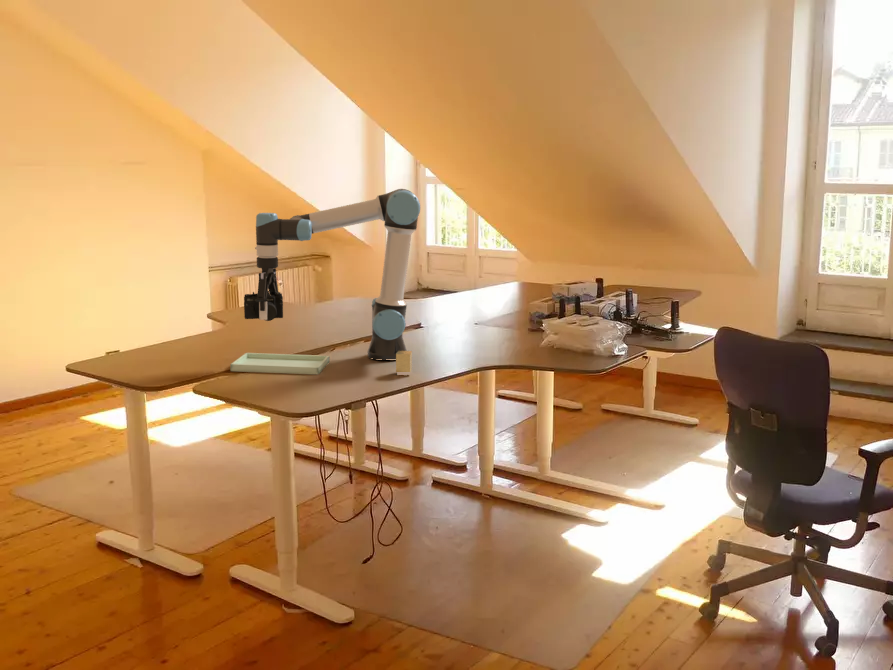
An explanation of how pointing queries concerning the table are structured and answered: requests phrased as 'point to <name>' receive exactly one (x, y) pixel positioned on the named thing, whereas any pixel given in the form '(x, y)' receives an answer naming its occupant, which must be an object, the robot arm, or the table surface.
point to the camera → (272, 306)
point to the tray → (280, 363)
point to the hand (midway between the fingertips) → (268, 316)
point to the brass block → (404, 361)
